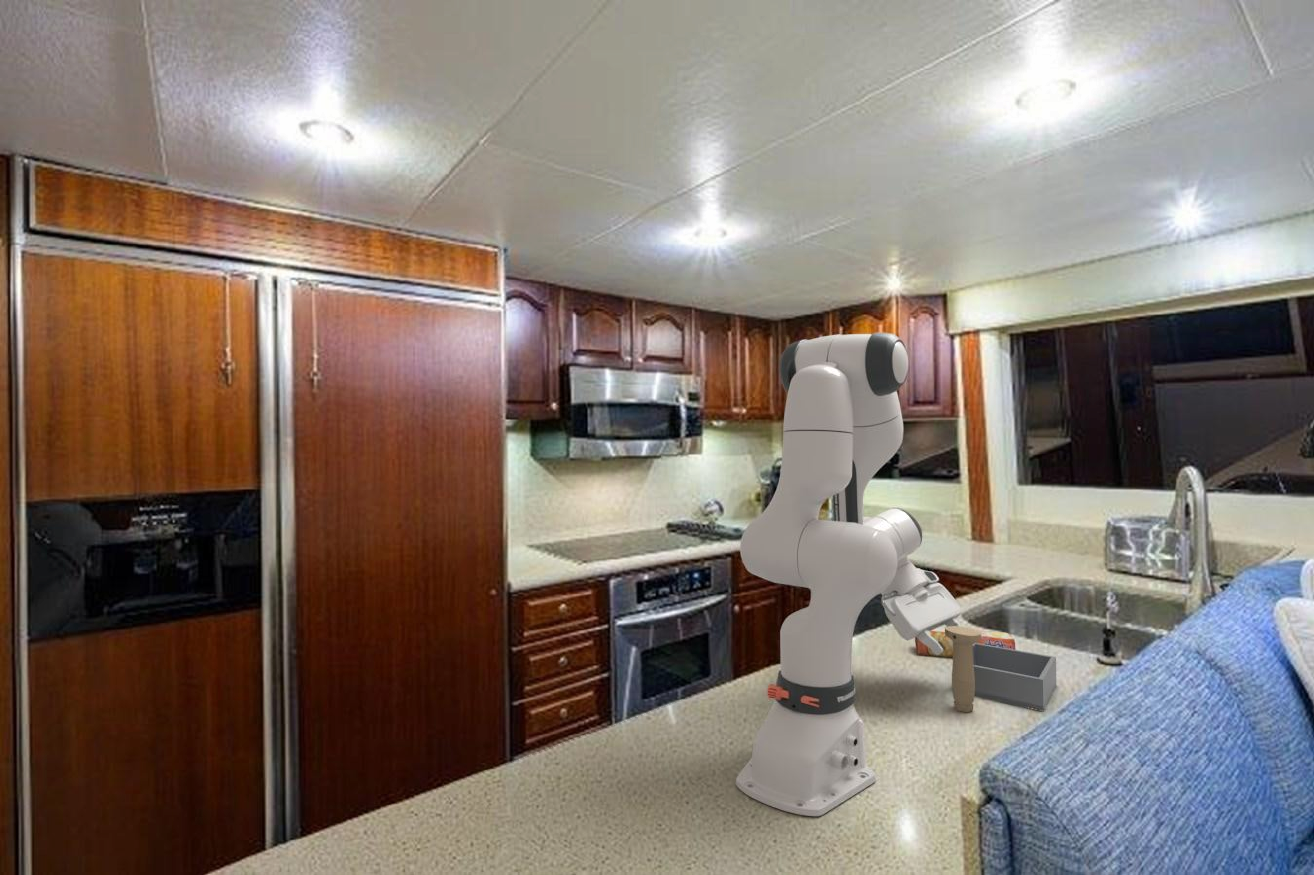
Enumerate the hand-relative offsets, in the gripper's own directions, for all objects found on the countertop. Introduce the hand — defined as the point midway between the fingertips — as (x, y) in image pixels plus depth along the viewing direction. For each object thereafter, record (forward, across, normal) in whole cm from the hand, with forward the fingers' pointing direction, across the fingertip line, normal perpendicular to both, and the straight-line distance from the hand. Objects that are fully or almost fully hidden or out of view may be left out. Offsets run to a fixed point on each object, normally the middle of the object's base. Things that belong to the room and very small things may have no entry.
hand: (953, 647), depth 125 cm
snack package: (0, +30, +16) cm, 34 cm away
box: (+10, +16, +6) cm, 20 cm away
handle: (+10, 0, +7) cm, 12 cm away
